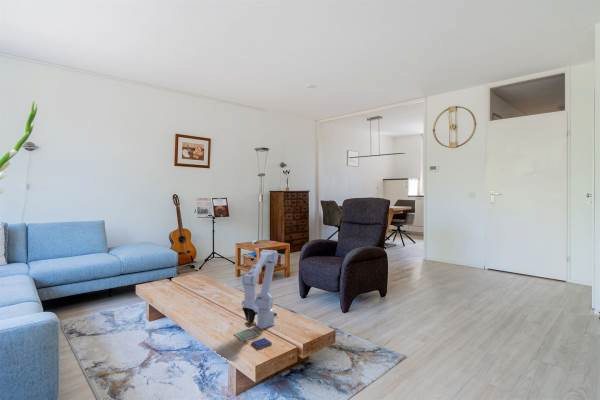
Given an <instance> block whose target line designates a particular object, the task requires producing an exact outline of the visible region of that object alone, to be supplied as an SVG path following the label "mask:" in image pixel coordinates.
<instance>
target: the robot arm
mask: <svg viewBox="0 0 600 400" xmlns="http://www.w3.org/2000/svg"><path fill="white" fill-rule="evenodd" d="M278 259H279V253H278V251H277V250H272V249H262V250H261V251H260V252H259V258H258V260H257V262H256V264H253V265H252V266H251V267H250V270H249V271H248V272H247V273H245V274H244V275H243V276H242V278H241V279H242V280H241V283H242V287H243V290H244V291H243V294H244V297H243V298H244V300H242V301H241V305H242V311H243V313H244V317H245V320H246V322H248V315H249V321H250V323H252V322H255V318H256V317H257V319H256V320H257V321H256V325H255V326H256V327H257V328H259V329H260V330H263V329H266V328H269V327H273V326H275V316H274V313H275V312H274V310H273V307H274V303H273V302H274V298H273V297H272V295H271V294H270V292H271V287H272V282H273V281H272V280H273V276H274V270H275V266H277V264H278ZM264 266H265V269H264V274H263V275H264V276H263V280H262V285H261V290H260V293H258V294H257V295H256V285H257V283H258V280H259V279H258V277H259V275H261V273H262V268H263V267H264ZM256 313H257V314H256ZM256 315H257V316H256Z"/></svg>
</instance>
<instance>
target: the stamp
mask: <svg viewBox="0 0 600 400" xmlns="http://www.w3.org/2000/svg"><path fill="white" fill-rule="evenodd" d="M256 323H257V321H256V322H255V321H254V322H252V323H250V321H249V315H248V321H246V322H244V326H245V327H247V329H251V328H252V327H255V326H256Z"/></svg>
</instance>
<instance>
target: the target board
mask: <svg viewBox="0 0 600 400" xmlns="http://www.w3.org/2000/svg"><path fill="white" fill-rule="evenodd" d="M233 335H234V336H236V337H237V338H238V339H239V340H240V341H242V342H245V341H248V340H251V339H254V338H258V337H259V336H260V334H258V332H256V331H254V330H253V329H252V328H247V329H244V330H241V331H237V332H235V333H233Z"/></svg>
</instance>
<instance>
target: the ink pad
mask: <svg viewBox="0 0 600 400" xmlns="http://www.w3.org/2000/svg"><path fill="white" fill-rule="evenodd" d="M250 343H251V346H252V347H254V348H256V349H257V350H261V349H264V348H266V347H269V346H272V345H273V344H272V342H271V341H270V340H268V339H267V338H266V337H263V338H260V339H257V340H254V341H252V342H250Z"/></svg>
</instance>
